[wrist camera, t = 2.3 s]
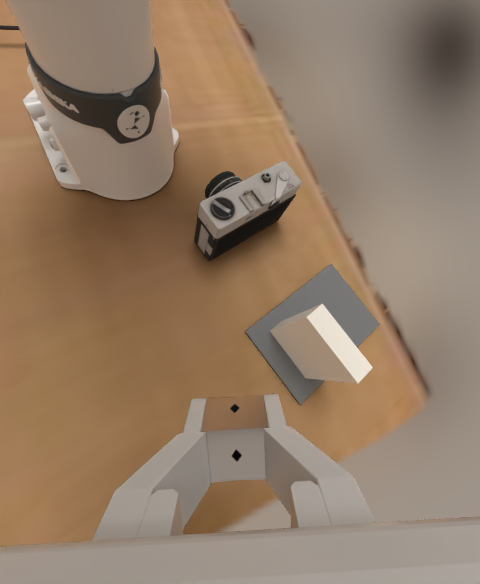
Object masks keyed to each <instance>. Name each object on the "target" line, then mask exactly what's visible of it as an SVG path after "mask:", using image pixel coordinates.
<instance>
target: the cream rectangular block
mask: <svg viewBox="0 0 480 584" xmlns="http://www.w3.org/2000/svg"><path fill="white" fill-rule="evenodd" d="M270 332H271V333H272V335H273V336H274V337H275V339H276V340H277V341H278V343H279V344H280V345H281V347H282V348H283V349H284V351H285V352H286V353H287V355H288V356H289V357H290V359H291V360H292V361H293V362H294V364H295V365H296V366H297V368H298V369H299V370H300V372H301V373H302V374H303V376H304V377H305V378H308V379H318V380H328V381H338V382H348V383H359V382H360V381H361V380H362V379H363V378H364V376H365V375H366V374H367V373H368V372H369V371H370V370H371V369H372V368H373V367H372V366H371V365H370V363H369V362H368V361H367V360H366V358H365V357H364V356H363V354H362V353H361V352H360V351H359V349H358V348H357V347H356V346H355V344H354V343H353V342H352V340H351V339H350V338H349V337H348V335H347V334H346V333H345V332H344V330H343V329H342V328H341V326H340V325H339V324H338V323H337V321H336V320H335V319H334V318H333V316H332V315H331V314H330V312H329V311H328V310H327V309H326V307H325V306H324V305H323V304H320V305H318V306H316V307H313V308H311V309H309V310H306V311H304V312H302V313H299V314H297V315H294V316H292V317H290V318H287V319H285V320H283V321H281V322H280V323H279V324H277V325H276V326H275V327H274V328H273V329H271V330H270Z"/></svg>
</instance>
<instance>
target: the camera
mask: <svg viewBox="0 0 480 584" xmlns="http://www.w3.org/2000/svg"><path fill="white" fill-rule="evenodd" d="M301 184H302V183H301V181H300V179H299V178H298V177H297V176H296V174H295V173H294V172H293V170H292V169H291V168H290V166H289V165H288V164H287V162H286V161H282V162H280V163H278V164H276V165H274V166H272V167H270V168H267V169H265V170H263V171H261V172H259V173H257V174H255V175H253V176H251V177H249V178H248V179H246V180H243V181H241V179H240V178H239V177H236V176H235V174H234V173H232V172H230V171H226V172H223V173H220V174H219V175H217V176H216V177H215V178H213V179H212V180H211V181H210V183H209V184H208V185H207V187H206V189H205V196H206V198H207V199H205V200H203V201H201V202H200V206H199V211H198V217H197V225H196V232H195V239H194V242H195V243H196V245H197V246H198V248H199V249H200V251H201V252H202V253H203V255H204V256H205V258H206V259H207V261H209V260H210V261H211V260H212V259H214V258H216V257H217V256H219V255H221V254H223V253H224V252H226V251H228V250H229V249H231V248H233V247H234V246H236V245H238V244H239V243H241V242H243V241H244V240H246V239H248V238H249V237H251V236H253V235H254V234H256V233H258V232H259V231H261V230H263V229H265V228H266V227H268V226H270V225H271V224H273V223H275V222H276V221H278V220H279V218H280V217H281V215H282V214H283V213H284V211H285V210H286V208H287V207H288V206H289V204H290V203H291V201H292V200H293V198H294V197H295V196H296V194H295V193H296V191H297V190H298V189H299V187H300V186H301Z"/></svg>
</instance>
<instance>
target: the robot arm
mask: <svg viewBox="0 0 480 584" xmlns="http://www.w3.org/2000/svg"><path fill="white" fill-rule="evenodd" d="M5 1H6V3H7V5H8V7H9V9H10V11H11V13H12V15H13V17H14V19H15V21H16V23H17V25H18V27H19V29H20V31H21V33H22V35H23V37H24V39H25V48H26V53H27V56H28V61H29V64H30V65H29V66H28V69H27V73H28V76H29V78H30V80H31V82H32V85H33V87H34V90H32V91H31V92H30V93H29V94H28V95H27V96H26V97H25V99H24V100H23V102H24V104H25V106H26V108H27V110H28V112H29V114H30V116H31V118H32V121H33V123H34V126H35V128H36V130H37V133H38V135H39V138H40V140H41V142H42V145H43V147H44V150H45V152H46V155H47V157H48V159H49V162H50V164H51V167H52V169H53V171H54V174H55V176H56V178H57V181H58V183H59V184H60V185H61V186H62V187H64V188H68V189H78V190H87V191H90V192H93V193H96V194H98V195H101V196H103V197H107V198H111V199H117V200H134V199H139V198H143V197H146V196H149V195H151V194H153V193H155V192H157V191H158V190H160V189H161V188H162V187H163V186H164V185H165V184H166V183H167V181H168V180H169V178H170V177H171V174H172V171H173V167H174V151H175V150H176V148H177V146H178V144H179V134H178V132H177V131H176V130H175V129H174V128H173V127H172V121H171V113H170V105H169V97H168V94H167V92H166V91H165V90H163V88H162V87H161V86H162V85H161V82H162V77H161V68H160V65H159V57H158V54H157V51H156V49H155V47H154V40H153V27H152V13H151V0H5ZM63 171H66V172H63ZM259 479H266V481H267V483H268V484H269V486H270V487H271V489H272V490H273V491H274V493H275V494H276V496H277V497H278V498H279V500H280V501H281V503H282V504H283V505H284V507H285V508H286V510H287V511H288V512H289V514H290V515H291V528H283V529H268V530H253V531H252V530H251V531H235V532H219V533H203V534H187V535H184V532H183V528H184V527H185V525H186V523H187V522H188V520H189V519H190V517H191V515H192V514H193V512H194V511H195V509H196V507H197V506H198V504H199V503H200V501H201V499H202V498H203V496H204V495H205V493H206V491H207V490H208V488H209V487H210V485H211V483H212V482H223V481H234V480H259ZM0 584H480V516H478V517H477V516H476V517H460V518H444V519H429V520H413V521H397V522H381V523H375V521H374V518H373V516H372V514H371V512H370V510H369V508H368V506H367V504H366V502H365V500H364V497H363V495H362V493H361V491H360V489H359V487H358V485H357V483H356V481H355V479H354V477H353V476H352V475H351V474H349V473H348V472H347V471H346V470H344V469H343V468H342V467H341V466H339V465H338V464H337V463H336V462H334V461H333V460H332V459H331V458H330V457H328V456H327V455H326V454H325V453H323V452H322V451H321V450H320V449H318V448H317V447H316V446H315V445H313V444H312V443H311V442H310V441H308V440H307V439H306V438H305V437H303V436H302V435H301V434H300V433H298V432H297V431H296V430H295V429H294V428H292V427H287V425H286V422H285V418H284V414H283V410H282V407H281V403H280V399H279V395H278V394H267V395H260V396H246V397H220V398H198V399H192V401H191V403H190V407H189V411H188V415H187V418H186V422H185V426H184V430H183V433H178V434H177V435H176V436H175V437H174V438H173V439H172V440H171V441H169V442H168V443H167V444H166V445H165V446H164V447H163V448H162V449H161V450H160V451H158V452H157V453H156V454H155V455H154V456H153V457H152V458H151V459H150V460H149V461H147V462H146V463H145V464H144V465H143V466H142V467H141V468H140V469H139V470H138V471H136V472H135V473H134V474H133V475H132V476H131V477H130V478H129V479H128V480H126V481H125V482H124V483H123V484H122V485H121V486H120V487H119V488H118V489H117V490H115V492H114V494H113V496H112V498H111V501H110V503H109V505H108V507H107V509H106V511H105V514H104V516H103V518H102V520H101V522H100V524H99V527H98V529H97V531H96V533H95V535H94V537H93V540H92V541H76V542H60V543H44V544H28V545H12V546H0Z"/></svg>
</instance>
